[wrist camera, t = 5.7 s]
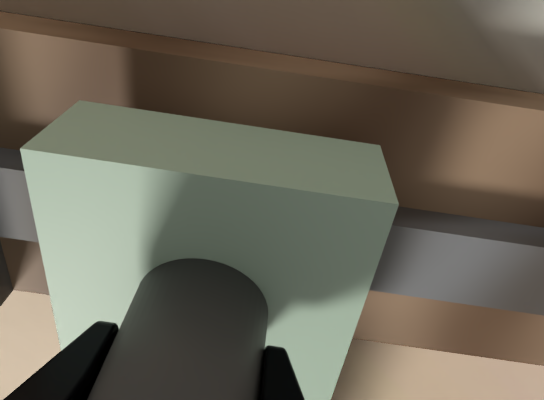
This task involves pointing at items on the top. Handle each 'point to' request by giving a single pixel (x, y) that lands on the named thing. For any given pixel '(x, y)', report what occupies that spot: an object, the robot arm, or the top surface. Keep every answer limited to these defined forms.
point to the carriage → (206, 247)
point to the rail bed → (333, 124)
